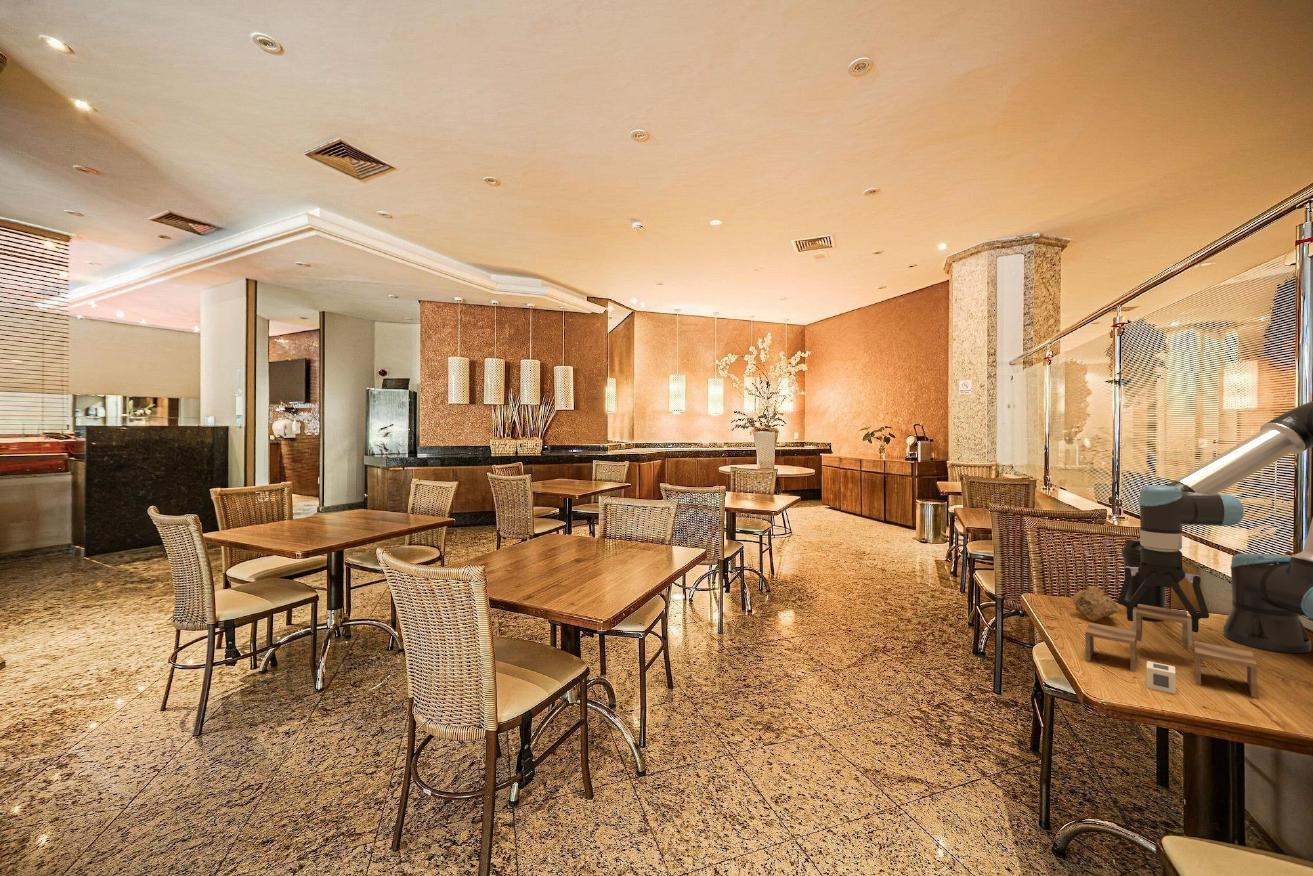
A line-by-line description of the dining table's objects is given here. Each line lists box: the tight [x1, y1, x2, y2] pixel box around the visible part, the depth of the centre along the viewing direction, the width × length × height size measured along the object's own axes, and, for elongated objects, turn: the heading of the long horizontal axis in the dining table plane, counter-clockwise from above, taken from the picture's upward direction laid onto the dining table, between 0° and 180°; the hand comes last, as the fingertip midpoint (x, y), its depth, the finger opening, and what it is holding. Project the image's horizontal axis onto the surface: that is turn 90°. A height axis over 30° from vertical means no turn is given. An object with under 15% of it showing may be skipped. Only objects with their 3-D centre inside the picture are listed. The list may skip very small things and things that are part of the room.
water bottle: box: [1121, 539, 1167, 623], centre depth 160 cm, size 10×10×23 cm
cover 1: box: [1084, 622, 1138, 672], centre depth 131 cm, size 9×9×7 cm
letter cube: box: [1146, 660, 1177, 695], centre depth 116 cm, size 5×4×5 cm
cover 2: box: [1136, 604, 1189, 651], centre depth 132 cm, size 9×9×7 cm
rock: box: [1070, 585, 1119, 622], centre depth 158 cm, size 12×10×10 cm
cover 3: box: [1193, 640, 1258, 698], centre depth 117 cm, size 9×9×7 cm
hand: (1161, 639), depth 132 cm, fingers closed on cover 2, 9 cm apart
